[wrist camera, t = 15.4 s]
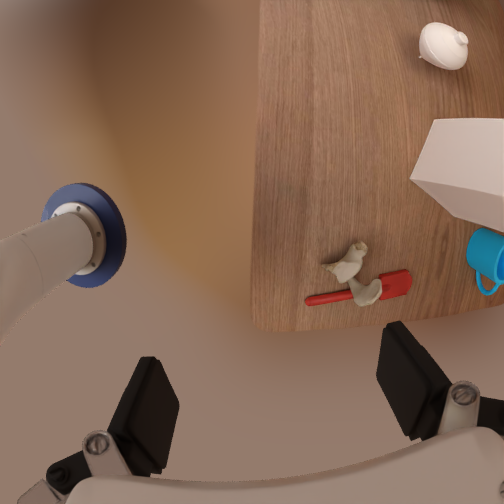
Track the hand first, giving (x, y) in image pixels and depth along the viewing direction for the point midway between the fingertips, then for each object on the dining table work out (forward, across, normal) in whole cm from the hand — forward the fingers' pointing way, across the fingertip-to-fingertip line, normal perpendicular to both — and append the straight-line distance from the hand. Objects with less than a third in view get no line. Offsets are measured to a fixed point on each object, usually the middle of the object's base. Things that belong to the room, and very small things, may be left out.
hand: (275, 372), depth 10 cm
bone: (+28, -12, +8) cm, 32 cm away
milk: (+28, -32, -5) cm, 43 cm away
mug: (+28, -42, +12) cm, 52 cm away
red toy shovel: (+28, -14, +13) cm, 34 cm away
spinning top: (+28, -30, -24) cm, 48 cm away
